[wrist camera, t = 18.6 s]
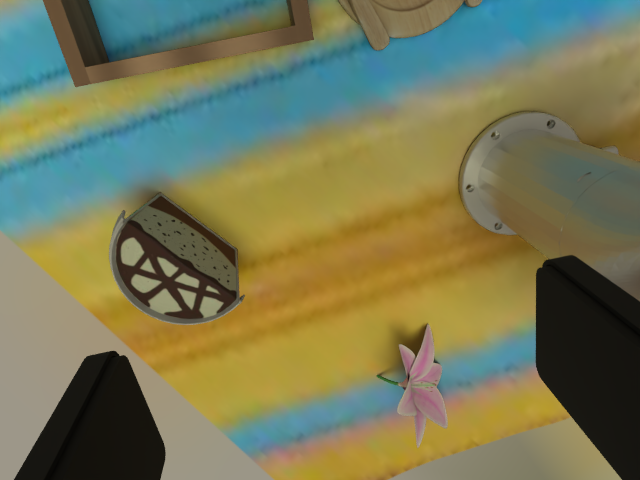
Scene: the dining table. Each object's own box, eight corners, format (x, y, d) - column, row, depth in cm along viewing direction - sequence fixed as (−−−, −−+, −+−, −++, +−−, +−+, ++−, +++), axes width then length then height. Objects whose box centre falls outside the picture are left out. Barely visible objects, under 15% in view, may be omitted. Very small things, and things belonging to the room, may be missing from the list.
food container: (110, 228, 46) (71, 274, 37) (147, 182, 45) (115, 218, 36) (212, 297, 50) (199, 355, 41) (248, 257, 49) (243, 307, 40)
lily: (426, 404, 61) (485, 434, 52) (348, 431, 55) (400, 470, 47) (421, 312, 60) (480, 328, 51) (341, 331, 54) (393, 352, 46)
